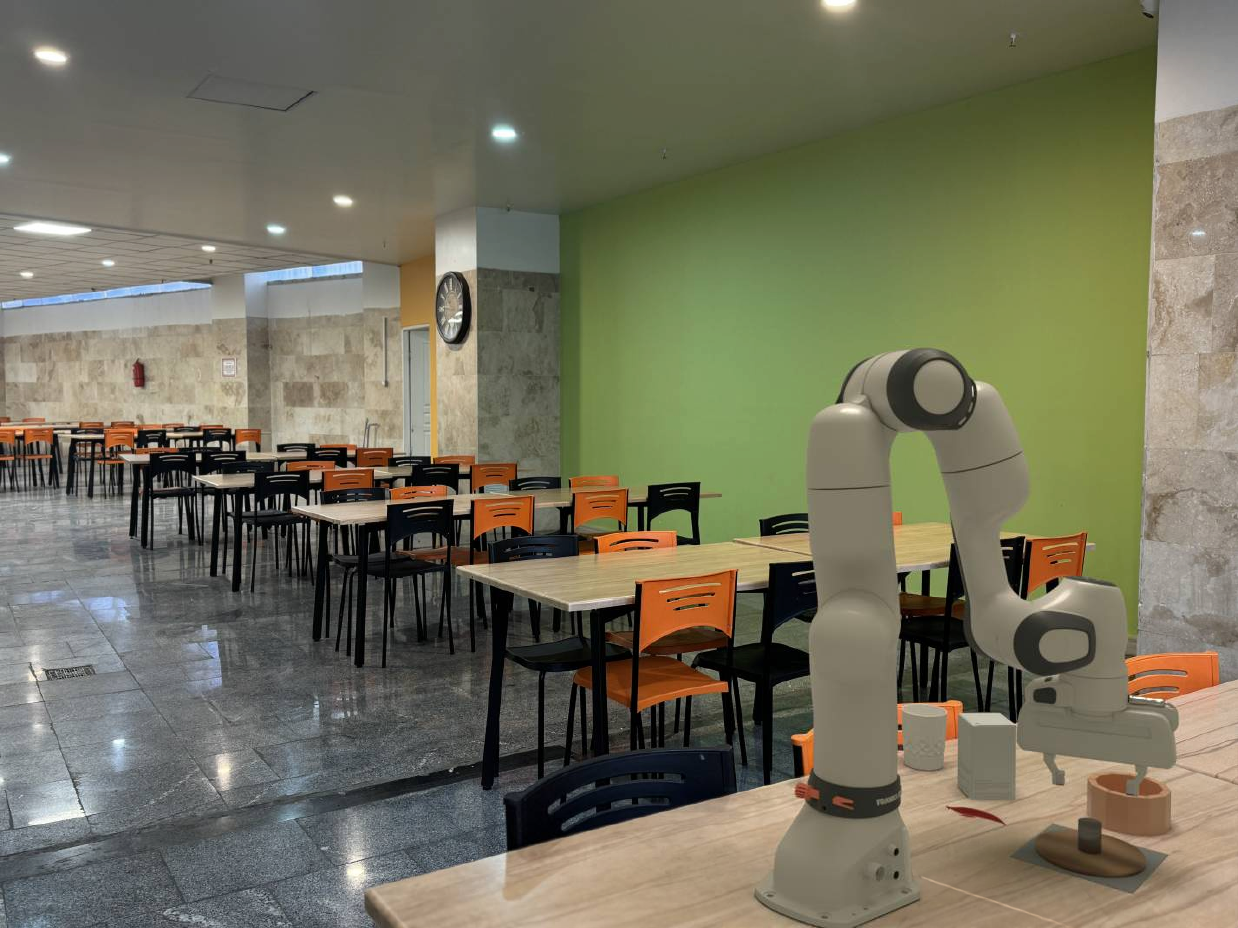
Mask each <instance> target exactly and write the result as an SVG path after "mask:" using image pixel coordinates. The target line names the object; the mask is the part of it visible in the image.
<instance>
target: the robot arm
mask: <svg viewBox="0 0 1238 928" xmlns="http://www.w3.org/2000/svg"><path fill="white" fill-rule="evenodd" d="M914 432H921V433H922V434H924V436H926V437H927V439H928V441H929V442H930V444H931V445H932V448H933V449H934V452H935V455H936V461H937V464H938V468H939V471H940V472H939V473H940V474H941V478H942V483H943V485H944V489H945V492H946V497H947V502H948V505H949V518H950V526H951V527H950V528H951V533H952V539H953V544H954V549H955V553H956V558H957V563H958V567H959V572H960V576H961V581H962V586H963V592H964V593H963V594H964V610H963V622H962V623H963V625H962V626H963V633H964V637H965V639H966V643H968V645H969V647H970V648H971V649H972V650H973V652H974V653H975V654H977V655H978V656H980V657H981V658H983V659H986V660H988V661H993V662H997V663H1001V664H1005V665H1007V666H1008V667H1012V668H1014V669H1016V670H1020V671H1022V672H1025V673H1028V674H1029V675H1034V676H1041V677H1037V678H1034V679H1032V680H1031V681H1030V682H1029V683H1028V684H1027V685H1026V687H1025V689H1024V698H1025V699H1024V700H1025V702H1024V703H1023V704H1022V706H1021V708H1020V710H1019V712H1018V713H1019V714H1018V718H1017V724H1016V745H1018V747H1019V748H1020V749H1021V750H1022V751H1024V752H1025V751H1026V752H1033V753H1039V754H1040V753H1042V755H1043V757H1042V758H1043V760H1042V761H1043V762H1044V764H1045V765H1046V767H1047V769H1048V770H1049V772H1050V773H1051V781H1052V782H1051V783H1052V785H1054V786H1062V787H1064V786H1065V784H1066V779H1065V777H1066V776H1065V775H1066V770H1061V769H1059V767H1058V765H1057V764H1056V762H1055V759H1056V757H1057V756H1063V757H1070V758H1071V757H1073V758H1079V759H1087V760H1093V761H1094V760H1095V761H1103V762H1107V763H1109V762H1110V763H1117V764H1125V765H1131V766H1132V765H1133V766H1134V772H1135V774H1136V775H1137V776H1136V777H1135V779H1134V780H1128V779H1127V782H1126V788H1127V790H1126V795H1129V796H1136V797H1138V796H1139V784H1140V783H1141V781H1142V780H1143V779H1144V777H1147V775H1148V769H1149V768H1155V769H1163V770H1170V769H1172V768H1173V767H1174V766H1175V765H1176V763H1177V757H1178V756H1177V743H1176V737H1175V731H1177V729H1178V728H1179V724H1180V722H1179V721H1180V718H1179V711H1178V709H1177V708H1176V706H1174V705H1173V704H1172V703H1170V702H1168V701H1166V699H1164V698H1161V697H1154V698H1153V697H1147V696H1139V695H1130V692H1129V668H1128V665H1127V663H1126V657H1125V656H1126V650H1127V646H1128V643H1129V642H1128V640H1129V637H1128V632H1129V631H1128V616H1127V609H1126V608H1127V607H1126V603H1125V598H1124V595H1123V592H1122V590H1121V588H1120V587H1119V586H1117V585H1116V584H1115V583H1113V582H1111V581H1107V580H1104V579H1103V580H1102V579H1097V578H1092V577H1087V576H1081V575H1080V576H1079V575H1068V576H1064V577H1063V578H1062V580H1061V582H1060V583H1059V584H1058V585H1057V586H1056V587H1054V589H1052V590H1050V591H1049V592H1048V593H1047V592H1046V594H1044V595H1042V596H1040V597H1039V598H1036V599H1032V600H1031V601H1030V600H1026V599H1023V598H1021V597H1020V596H1019V594H1017V593H1016V592H1015V591H1014V590H1013V588H1012V587H1011V585H1010V583H1009V580H1008V579H1009V578H1008V575H1007V570H1006V565H1005V560H1004V555H1003V549H1002V545H1001V539H1000V537H1001V530H1002V528H1003V526H1004V524H1005V523H1006V522H1008V521H1009V520H1011V519H1012V518H1014V517H1015V516H1016V515H1018V514H1019V512H1020V511H1021V510H1022V509H1023V508H1024V507H1025V505H1026V503H1027V501H1028V499H1029V498H1030V494H1031V479H1030V470H1029V467H1028V463H1027V459H1026V456H1025V452H1024V450H1023V446H1022V443H1021V439H1020V437H1019V434H1018V432H1017V429H1016V426H1015V424H1014V421H1013V419H1012V417H1011V414H1010V412H1009V411H1008V408H1007V406H1006V404H1005V403H1004V400H1003V398H1002V397H1001V395H1000V393H999V391H998V390H997V389H996V388H995V387H994V386H993V385H992V384H990V383H987V382H984V381H980V380H973V378H972V377H970V376H969V374H968V372H967V370H966V368H965V367H964V366H963V364H962V363H961V362H960V361H959V360H958V359H957V358H956V357H955V356H953V355H952V354H951V353H948V352H947V351H945V350H941V349H937V348H933V347H932V348H931V347H917V348H913V349H894V350H890V351H886V352H883V353H881V354H878V355H874V356H873V355H872V356H871V357H868V358H867V357H866V358H865V359H862V360H861V361H860V362H858V363H856V364H855V365H854V366H853V367H851V369H850V370H849V372H848V373H847V375H845V378H844V380H843V383H842V385H841V388H840V392H839V395H838V396H837V398H836V401H835V402H834V404H833V405H832V404H831V405H829V406H827V407H825V408H823V409H822V410H820V411H819V412H818V413H817V414H816V415H815V416H814V417H813V419H812V421H811V423H810V427H809V434H808V439H807V440H808V441H807V450H806V464H805V465H806V468H805V470H806V471H805V472H806V473H805V475H806V498H807V499H806V500H807V502H806V503H807V516H808V517H807V519H808V521H807V522H808V537H809V538H808V539H809V549H810V550H809V551H810V553H811V557H812V563H813V564H812V565H813V570H814V579H815V585H816V593H817V595H816V596H817V612H816V613H815V615H814V617H813V619H812V621H811V623H810V626H809V630H808V654H809V655H808V657H809V660H808V661H809V674H810V675H809V676H810V677H809V678H810V688H811V689H810V690H811V700H812V710H813V745H812V746H813V748H812V749H813V759H812V761H813V763H812V764H813V766H812V768H811V769H810V772H809V776H808V778H807V782H806V784H805V783H804V782H800V781H799V782H798V783H796V785H795V787H794V796H795V798H798V799H802V800H803V799H804V800H805V802H804V804H803V806H802V807H801V809H800V811H799V812H798V814H797V815H796V817H795V818H794V820H793V821H792V823H791V825H790V826H789V828H788V829H787V831H786V832H785V834H784V836H783V837H782V838H781V840H780V842H779V844H778V845H777V847H776V848H775V854H774V855H775V856H774V862H773V864H774V865H773V869H772V870H771V871H770V872H768V874H767V875H766V876H765V877H763V878H762V880H760V882H758V884H757V885H756V886H755V887H754V896H755V898H757V900H759V901H760V902H761V903H762V904H764V905H765V906H767V907H768V908H771V909H772V910H773V911H776V912H777V913H780V914H782V915H785V916H787V917H790V918H792V919H795V920H797V921H801V922H804V923H806V924H808V925H813V926H817V927H821V928H855V927H858V926H860V925H861V924H864V923H866V922H868V921H871V920H873V919H875V918H878V917H880V916H883V915H885V914H887V913H889V912H892V911H895V910H896V909H899V908H901V907H904V906H906V905H909V904H911V903H914V902H915V901H917V900H919V899H921V889H920V887H919V886H918V885H917V883H915V882H914V881H913V876H912V858H911V845H910V833H909V830H908V828H907V826H906V824H905V823H904V820H903V818H902V816H901V813H900V810H899V807H900V806H901V804H902V802H901V801H902V794H903V792H902V791H903V790H902V783H901V776H900V775H899V774H898V757H899V756H898V749H899V747H898V743H899V742H898V737H899V715H898V714H899V713H898V683H897V682H898V681H897V679H898V678H897V671H898V670H897V665H898V664H897V658H898V657H897V656H898V655H897V653H898V642H899V638H900V637H899V636H900V633H901V627H902V626H901V625H902V623H901V607H900V594H899V593H900V591H899V581H898V568H897V560H896V559H897V556H896V548H895V534H894V532H895V531H894V514H893V513H894V511H893V496H892V495H893V492H892V477H891V476H892V475H891V467H890V465H891V464H890V459H891V451H892V447H893V444H894V442H895V439H896V437H897V436H898V434H906V433H908V434H909V433H914ZM1148 767H1149V768H1148Z"/></svg>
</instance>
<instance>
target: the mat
mask: <svg viewBox="0 0 1238 928" xmlns="http://www.w3.org/2000/svg"><path fill="white" fill-rule="evenodd" d="M1055 830H1077V829H1075V828H1071V827H1068V826H1064V825H1060V824H1057V823H1051V824H1049V825H1048V826H1047V827H1046V828H1044V829H1043V830H1042V831H1041V832H1039V833H1038V834H1037V835H1036V836H1034V837H1033V838H1032V839H1030V840H1029V841H1028V842H1026V843H1025V844H1024V845H1022V846H1021V847H1020V848H1019V849H1018V850H1016V851H1015V852H1013V853H1012V854H1011V855H1009V858H1012V859H1016V860H1019V861H1021V862H1026V863H1029V864H1033V865H1036V866H1038V867H1043V868H1046V869H1049V870H1052V871H1056V872H1060V873H1061V874H1066V875H1068V876H1072V877H1076V878H1079V879H1082V880H1086V881H1089V882H1092V883H1095V884H1098V885H1102V886H1106V887H1109V888H1113V889H1115V890H1118V891H1122V892H1126V893H1129V894H1134V893H1135V892H1136V891H1137V890H1138V889H1139V888H1140V887H1141V886H1142V884H1143V883H1144V882H1145V881H1146V880H1147V879H1148V878H1149V877H1150V876H1151V875H1152V874H1153V872H1154V871H1156V870H1157V868H1158V867H1159V866H1161V864H1162V863H1163V862H1164V861H1165V859H1167V857H1169V854H1168V853H1164V852H1161V851H1158V850H1157V851H1156V850H1153V849H1150V848H1145V847H1143V846H1138V845H1135V844H1132V845H1133V846H1135V847H1136V848H1138V849H1139V850H1140V851H1141V852H1142V853H1143V854H1144V856H1145V858H1146V867H1145V869H1144V871H1142V872H1141V873H1139V874H1137V875H1134V876H1130V877H1123V878H1103V877H1094V876H1088V875H1083V874H1078V873H1075V872H1071V871H1068V870H1065V869H1062V868H1060V867H1057V866H1055V865H1053V864H1051V863H1049V862H1048V861H1046V860H1045V859H1043V858H1042V857H1041V856H1040V855H1039V854H1038V853H1037V851H1036V839H1037V837H1038V836H1040V835H1041V834H1043V833H1046V832H1050V831H1055Z"/></svg>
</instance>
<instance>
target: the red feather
mask: <svg viewBox="0 0 1238 928" xmlns="http://www.w3.org/2000/svg"><path fill="white" fill-rule="evenodd" d="M945 806H946V808H948V809H947V810H952V811H954V812H956V813H958V814H959V816H960V817H965V818H972V819H976V818H980V819H984V820H988V821H993V822H996V823H999V824H1002V825H1004V826H1007V825H1006V823H1005V821H1003V820H1002V819H1001V818H1000V817H998V816H996V815H995V814H992V813H989V812H987V811H983V810H981V809H977V808H973V807H967V806H949V805H945Z"/></svg>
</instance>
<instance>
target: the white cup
mask: <svg viewBox="0 0 1238 928" xmlns="http://www.w3.org/2000/svg"><path fill="white" fill-rule="evenodd" d="M900 709H901V711H900V712H901V737H902V749H903V762H904V764H905V766H907V767H909V768H911V769H914V770H918V771H927V772H928V771H938V769H939V770H941V769H942V768H943V767H944V763H945V762H944V759H945V751H946V739H947V722H948V710H947V709H945V708H944V707H941V706H937V705H933V704H928V703H927V704H926V703H910V704H906V705H902V707H901V708H900Z"/></svg>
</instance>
